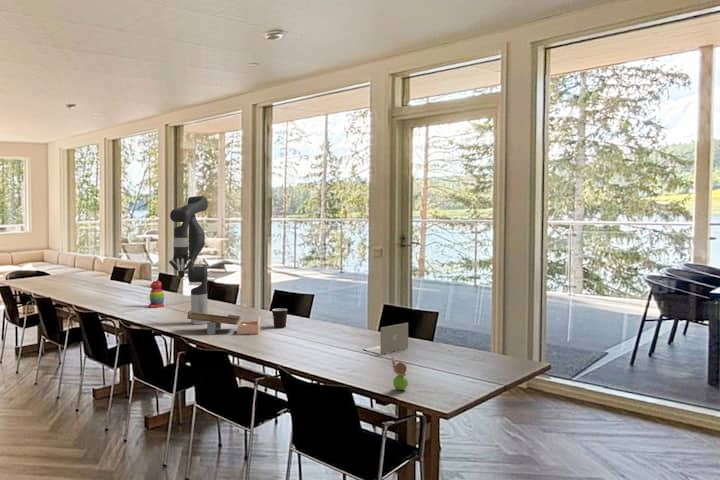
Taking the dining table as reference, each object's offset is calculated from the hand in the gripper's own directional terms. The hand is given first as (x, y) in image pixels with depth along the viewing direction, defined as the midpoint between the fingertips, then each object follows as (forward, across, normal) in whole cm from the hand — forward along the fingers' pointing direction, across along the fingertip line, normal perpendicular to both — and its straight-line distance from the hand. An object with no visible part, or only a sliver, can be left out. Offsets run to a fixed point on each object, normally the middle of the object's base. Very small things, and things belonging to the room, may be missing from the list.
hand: (181, 277), depth 316 cm
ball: (+26, -34, +6) cm, 44 cm away
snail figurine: (+29, -106, +110) cm, 156 cm away
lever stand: (+29, -18, +3) cm, 34 cm away
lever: (+23, -18, +3) cm, 29 cm away
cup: (+29, -37, +6) cm, 48 cm away
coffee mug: (+29, -53, -8) cm, 61 cm away
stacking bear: (+29, +37, -80) cm, 93 cm away
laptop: (+30, -107, +48) cm, 121 cm away
